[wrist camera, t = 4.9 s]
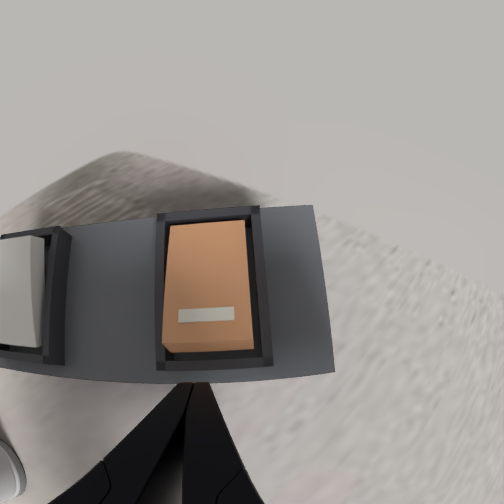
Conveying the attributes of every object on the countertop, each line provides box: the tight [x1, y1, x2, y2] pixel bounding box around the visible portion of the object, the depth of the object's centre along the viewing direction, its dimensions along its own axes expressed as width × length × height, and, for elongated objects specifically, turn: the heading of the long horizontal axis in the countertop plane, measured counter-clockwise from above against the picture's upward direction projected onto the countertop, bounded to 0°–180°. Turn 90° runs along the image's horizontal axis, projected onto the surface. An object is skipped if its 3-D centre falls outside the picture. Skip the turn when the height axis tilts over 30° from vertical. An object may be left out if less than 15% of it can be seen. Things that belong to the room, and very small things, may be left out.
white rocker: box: [0, 235, 45, 347], centre depth 12 cm, size 5×3×1 cm, turn 4°
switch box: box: [0, 205, 335, 384], centre depth 17 cm, size 8×20×10 cm, turn 94°
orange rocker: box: [162, 220, 254, 353], centre depth 12 cm, size 5×3×1 cm, turn 4°
